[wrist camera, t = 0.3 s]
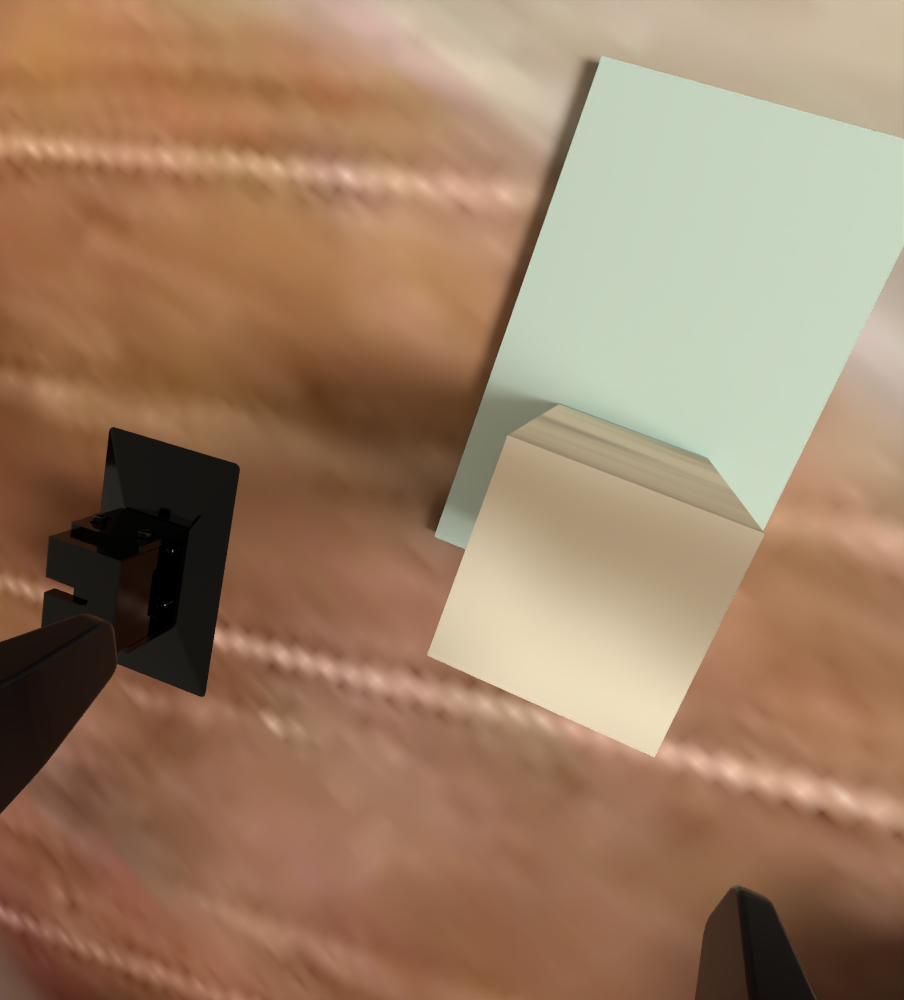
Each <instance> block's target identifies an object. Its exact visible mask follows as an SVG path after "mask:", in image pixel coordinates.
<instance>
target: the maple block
mask: <svg viewBox="0 0 904 1000" xmlns="http://www.w3.org/2000/svg"><path fill="white" fill-rule="evenodd" d="M764 535H765V533H764V532H763V530H762V529H761V528H760V526H759V525H758V524H757V522H756V521H755V520H754V518H753V517H752V516H751V514H750V513H749V512H748V510H747V509H746V508H745V506H744V505H743V504H742V502H741V501H740V500H739V499H738V497H737V496H736V495H735V493H734V492H733V491H732V489H731V488H730V487H729V485H728V484H727V483H726V481H725V480H724V479H723V477H722V476H721V475H720V473H719V472H718V471H717V469H716V468H715V467H714V465H713V464H712V463H711V462H710V460H709V459H708V458H707V457H704V456H701V455H699V454H696V453H693V452H690V451H688V450H685V449H682V448H680V447H677V446H674V445H671V444H669V443H666V442H663V441H661V440H658V439H655V438H652V437H650V436H647V435H644V434H642V433H639V432H636V431H633V430H631V429H628V428H625V427H623V426H620V425H617V424H614V423H612V422H609V421H606V420H604V419H601V418H598V417H595V416H593V415H590V414H587V413H585V412H582V411H579V410H577V409H574V408H571V407H568V406H566V405H563V404H559V405H557V406H555V407H554V408H552V409H550V410H549V411H547V412H545V413H544V414H542V415H540V416H539V417H537V418H535V419H534V420H532V421H530V422H529V423H527V424H525V425H524V426H522V427H520V428H519V429H517V430H515V431H514V432H512V433H510V434H509V435H507V438H506V441H505V443H504V446H503V449H502V452H501V454H500V457H499V460H498V463H497V465H496V468H495V471H494V473H493V476H492V479H491V482H490V484H489V487H488V490H487V493H486V495H485V498H484V501H483V504H482V506H481V509H480V512H479V515H478V517H477V520H476V523H475V526H474V528H473V531H472V534H471V537H470V539H469V542H468V545H467V548H466V550H465V553H464V556H463V559H462V561H461V564H460V567H459V569H458V572H457V575H456V578H455V580H454V583H453V586H452V589H451V591H450V594H449V597H448V600H447V602H446V605H445V608H444V611H443V613H442V616H441V619H440V622H439V624H438V627H437V630H436V633H435V635H434V638H433V641H432V644H431V646H430V649H429V652H428V655H427V656H430V657H432V658H434V659H436V660H439V661H441V662H443V663H445V664H448V665H450V666H452V667H454V668H456V669H459V670H461V671H463V672H465V673H468V674H470V675H472V676H474V677H476V678H479V679H481V680H483V681H485V682H488V683H490V684H492V685H494V686H496V687H499V688H501V689H503V690H505V691H508V692H510V693H512V694H514V695H516V696H519V697H521V698H523V699H525V700H528V701H530V702H532V703H534V704H537V705H539V706H541V707H543V708H545V709H548V710H550V711H552V712H554V713H557V714H559V715H561V716H563V717H565V718H568V719H570V720H572V721H574V722H577V723H579V724H581V725H583V726H585V727H588V728H590V729H592V730H594V731H597V732H599V733H601V734H603V735H605V736H608V737H610V738H612V739H614V740H617V741H619V742H621V743H623V744H626V745H628V746H630V747H632V748H634V749H637V750H639V751H641V752H643V753H646V754H648V755H650V756H652V757H655V755H656V753H657V751H658V749H659V747H660V745H661V743H662V741H663V739H664V737H665V735H666V733H667V731H668V729H669V727H670V725H671V723H672V721H673V719H674V717H675V715H676V713H677V711H678V708H679V706H680V704H681V702H682V700H683V698H684V696H685V694H686V692H687V690H688V688H689V686H690V684H691V682H692V680H693V678H694V676H695V674H696V672H697V670H698V668H699V666H700V664H701V662H702V660H703V658H704V656H705V654H706V652H707V650H708V648H709V646H710V644H711V642H712V640H713V638H714V636H715V634H716V632H717V630H718V628H719V626H720V624H721V622H722V620H723V617H724V615H725V613H726V611H727V609H728V607H729V605H730V603H731V601H732V599H733V597H734V595H735V593H736V591H737V589H738V587H739V585H740V583H741V581H742V579H743V577H744V575H745V573H746V571H747V569H748V567H749V565H750V563H751V561H752V559H753V557H754V555H755V553H756V551H757V549H758V547H759V545H760V543H761V541H762V539H763V537H764Z"/></svg>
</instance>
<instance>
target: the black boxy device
mask: <svg viewBox="0 0 904 1000" xmlns="http://www.w3.org/2000/svg"><path fill="white" fill-rule="evenodd" d="M239 471H240V468H239V466H238V465H237V464H235V463H232V462H229V461H225V460H222V459H219V458H215V457H212V456H209V455H205V454H202V453H198V452H195V451H192V450H188V449H185V448H182V447H178V446H175V445H172V444H168V443H165V442H162V441H158V440H155V439H151V438H148V437H145V436H141V435H138V434H135V433H131V432H128V431H125V430H121V429H118V428H115V427H112V428H111V429H110V430H109V438H108V447H107V456H106V466H105V475H104V484H103V493H102V502H101V511H100V513H96V514H93V516H91V517H88V518H84V519H81V520H77V521H74V522H72V523H71V530H69V531H66V532H62V533H59V534H56V535H53V536H50V537H49V542H48V553H47V565H46V577H47V578H49V579H52V580H55V581H57V582H60V583H63V584H66V585H68V586H71V587H74V592H73V595H71V594H69V593H66V592H63V591H60V590H58V589H55V588H54V589H51V590H49V591H46V592H44V599H43V611H42V622H41V628H42V627H45V626H48V625H51V624H53V623H56V622H59V621H62V620H65V619H68V618H71V617H74V616H76V615H80V614H92V615H94V616H97V617H99V618H102V619H104V620H106V621H109V622H110V623H111V624H112V625H113V628H114V634H115V643H116V652H117V664H119V665H122V666H124V667H127V668H129V669H132V670H134V671H137V672H139V673H142V674H145V675H147V676H150V677H152V678H155V679H157V680H160V681H162V682H165V683H167V684H170V685H172V686H175V687H177V688H180V689H182V690H185V691H187V692H190V693H193V694H195V695H198V696H200V697H203V696H204V695H205V692H206V685H207V679H208V673H209V666H210V660H211V653H212V647H213V640H214V634H215V627H216V621H217V614H218V608H219V601H220V595H221V588H222V582H223V575H224V569H225V562H226V556H227V549H228V543H229V536H230V530H231V523H232V517H233V510H234V504H235V497H236V491H237V484H238V478H239Z"/></svg>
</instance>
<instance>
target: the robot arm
mask: <svg viewBox="0 0 904 1000" xmlns="http://www.w3.org/2000/svg"><path fill="white" fill-rule="evenodd" d="M116 666H117V652H116V643H115V634H114V628H113V625H112V624H111V623H110V622H109V621H106V620H104V619H102V618H99V617H97V616H94V615H92V614H80V615H76V616H74V617H71V618H68V619H65V620H62V621H59V622H56V623H53V624H51V625H48V626H45V627H42V628H39V629H36V630H33V631H30V632H28V633H25V634H22V635H19V636H16V637H13V638H10V639H8V640H5V641H2V642H0V814H1V813H2V812H3V810H4V809H5V808H6V807H7V806H8V805H9V804H10V803H11V802H12V801H13V800H14V798H15V797H16V796H17V795H18V794H19V793H20V792H21V791H22V790H23V789H24V788H25V786H26V785H27V784H28V783H29V782H30V781H31V780H32V779H33V778H34V776H35V775H36V774H37V773H38V772H39V771H40V770H41V769H42V767H43V766H44V765H45V764H46V763H47V761H48V760H49V759H50V758H51V756H52V755H53V754H54V753H55V751H56V750H57V749H58V747H59V746H60V745H61V743H62V742H63V741H64V739H65V738H66V737H67V735H68V734H69V733H70V732H71V730H72V729H73V728H74V726H75V725H76V724H77V722H78V721H79V720H80V718H81V717H82V716H83V714H84V713H85V712H86V710H87V709H88V708H89V706H90V705H91V704H92V702H93V701H94V700H95V698H96V697H97V696H98V694H99V693H100V692H101V690H102V689H103V688H104V687H105V685H106V684H107V683H108V681H109V680H110V679H111V677H112V675H113V674H114V672H115V669H116ZM695 1000H817V999H816V997H815V995H814V993H813V990H812V988H811V986H810V984H809V982H808V979H807V977H806V975H805V973H804V971H803V969H802V966H801V964H800V962H799V960H798V958H797V955H796V953H795V951H794V949H793V947H792V944H791V942H790V940H789V938H788V936H787V933H786V931H785V929H784V927H783V925H782V923H781V920H780V918H779V916H778V914H777V912H776V909H775V907H774V905H773V904H772V902H771V901H770V900H769V899H768V898H767V897H765V896H764V895H761V894H759V893H757V892H754V891H752V890H750V889H747V888H745V887H742V886H739V885H736V886H733V887H732V888H731V889H730V890H729V891H728V892H727V894H726V895H725V896H724V898H723V899H722V900H721V901H720V903H719V904H718V905H717V907H716V908H715V909H714V911H713V912H712V913H711V915H710V916H709V918H708V920H707V923H706V926H705V930H704V934H703V941H702V949H701V957H700V965H699V972H698V980H697V988H696V996H695Z"/></svg>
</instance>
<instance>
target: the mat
mask: <svg viewBox="0 0 904 1000" xmlns="http://www.w3.org/2000/svg"><path fill="white" fill-rule="evenodd" d="M903 246H904V139H902V138H898V137H895V136H891V135H887V134H884V133H880V132H876V131H873V130H869V129H866V128H862V127H858V126H855V125H851V124H847V123H844V122H840V121H837V120H833V119H829V118H826V117H822V116H818V115H815V114H811V113H808V112H804V111H800V110H797V109H793V108H789V107H786V106H782V105H779V104H775V103H771V102H768V101H764V100H760V99H757V98H753V97H750V96H746V95H742V94H739V93H735V92H731V91H728V90H724V89H720V88H717V87H713V86H710V85H706V84H702V83H699V82H695V81H691V80H688V79H684V78H681V77H677V76H673V75H670V74H666V73H662V72H659V71H655V70H652V69H648V68H644V67H641V66H637V65H633V64H630V63H626V62H623V61H619V60H615V59H612V58H608V57H604V56H602V57H601V60H600V62H599V65H598V68H597V71H596V74H595V77H594V80H593V83H592V85H591V88H590V91H589V94H588V97H587V100H586V103H585V105H584V108H583V111H582V114H581V117H580V120H579V123H578V126H577V128H576V131H575V134H574V137H573V140H572V143H571V146H570V149H569V151H568V154H567V157H566V160H565V163H564V166H563V169H562V171H561V174H560V177H559V180H558V183H557V186H556V189H555V192H554V194H553V197H552V200H551V203H550V206H549V209H548V212H547V215H546V217H545V220H544V223H543V226H542V229H541V232H540V235H539V237H538V240H537V243H536V246H535V249H534V252H533V255H532V258H531V260H530V263H529V266H528V269H527V272H526V275H525V278H524V281H523V283H522V286H521V289H520V292H519V295H518V298H517V301H516V303H515V306H514V309H513V312H512V315H511V318H510V321H509V324H508V326H507V329H506V332H505V335H504V338H503V341H502V344H501V347H500V349H499V352H498V355H497V358H496V361H495V364H494V367H493V369H492V372H491V375H490V378H489V381H488V384H487V387H486V390H485V392H484V395H483V398H482V401H481V404H480V407H479V410H478V413H477V415H476V418H475V421H474V424H473V427H472V430H471V433H470V435H469V438H468V441H467V444H466V447H465V450H464V453H463V456H462V458H461V461H460V464H459V467H458V470H457V473H456V476H455V479H454V481H453V484H452V487H451V490H450V493H449V496H448V499H447V501H446V504H445V507H444V510H443V513H442V516H441V519H440V522H439V524H438V527H437V530H436V533H435V536H434V537H436V538H439V539H441V540H444V541H446V542H448V543H451V544H453V545H456V546H458V547H460V548H463V549H465V550H466V548H467V545H468V542H469V539H470V537H471V534H472V531H473V528H474V526H475V523H476V520H477V517H478V515H479V512H480V509H481V506H482V504H483V501H484V498H485V495H486V493H487V490H488V487H489V484H490V482H491V479H492V476H493V473H494V471H495V468H496V465H497V463H498V460H499V457H500V454H501V452H502V449H503V446H504V443H505V441H506V438H507V435H509V434H510V433H512V432H514V431H515V430H517V429H519V428H520V427H522V426H524V425H525V424H527V423H529V422H530V421H532V420H534V419H535V418H537V417H539V416H540V415H542V414H544V413H545V412H547V411H549V410H550V409H552V408H554V407H555V406H557V405H559V404H563V405H566V406H568V407H571V408H574V409H577V410H579V411H582V412H585V413H587V414H590V415H593V416H595V417H598V418H601V419H604V420H606V421H609V422H612V423H614V424H617V425H620V426H623V427H625V428H628V429H631V430H633V431H636V432H639V433H642V434H644V435H647V436H650V437H652V438H655V439H658V440H661V441H663V442H666V443H669V444H671V445H674V446H677V447H680V448H682V449H685V450H688V451H690V452H693V453H696V454H699V455H701V456H704V457H707V458H708V459H709V460H710V462H711V463H712V464H713V465H714V467H715V468H716V469H717V471H718V472H719V473H720V475H721V476H722V477H723V479H724V480H725V481H726V483H727V484H728V485H729V487H730V488H731V489H732V491H733V492H734V493H735V495H736V496H737V497H738V499H739V500H740V501H741V502H742V504H743V505H744V506H745V508H746V509H747V510H748V512H749V513H750V514H751V516H752V517H753V518H754V520H755V521H756V522H757V524H758V525H759V526H760V528H761V529H762V530H764V528H765V526H766V524H767V522H768V520H769V518H770V515H771V513H772V511H773V509H774V507H775V505H776V503H777V501H778V499H779V497H780V495H781V493H782V491H783V489H784V487H785V485H786V483H787V481H788V479H789V477H790V475H791V473H792V471H793V469H794V467H795V465H796V463H797V461H798V459H799V457H800V455H801V453H802V451H803V449H804V447H805V444H806V442H807V440H808V438H809V436H810V434H811V432H812V430H813V428H814V426H815V424H816V422H817V420H818V418H819V416H820V414H821V412H822V410H823V408H824V406H825V404H826V402H827V400H828V398H829V396H830V394H831V392H832V390H833V388H834V386H835V384H836V382H837V380H838V378H839V376H840V374H841V371H842V369H843V367H844V365H845V363H846V361H847V359H848V357H849V355H850V353H851V351H852V349H853V347H854V345H855V343H856V341H857V339H858V337H859V335H860V333H861V331H862V329H863V327H864V325H865V323H866V321H867V319H868V317H869V315H870V313H871V311H872V309H873V307H874V305H875V303H876V300H877V298H878V296H879V294H880V292H881V290H882V288H883V286H884V284H885V282H886V280H887V278H888V276H889V274H890V272H891V270H892V268H893V266H894V264H895V262H896V260H897V258H898V256H899V254H900V252H901V250H902V248H903Z"/></svg>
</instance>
